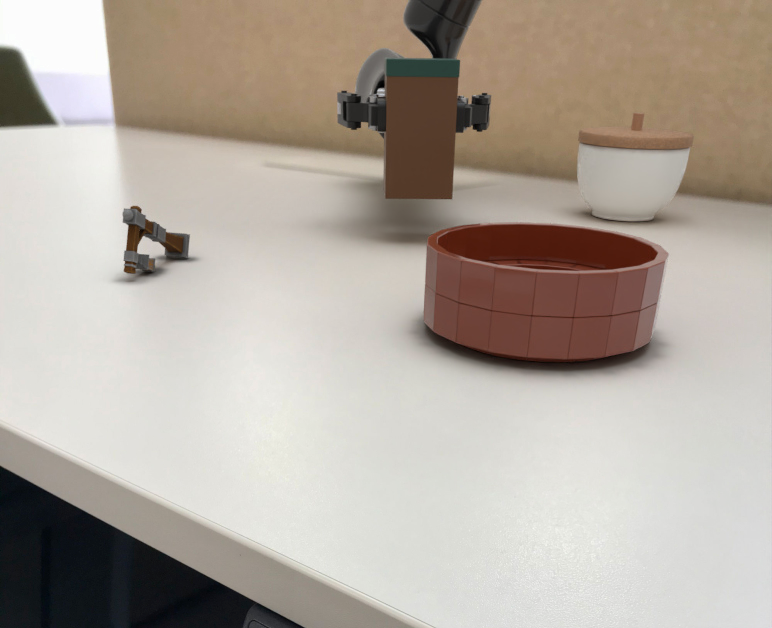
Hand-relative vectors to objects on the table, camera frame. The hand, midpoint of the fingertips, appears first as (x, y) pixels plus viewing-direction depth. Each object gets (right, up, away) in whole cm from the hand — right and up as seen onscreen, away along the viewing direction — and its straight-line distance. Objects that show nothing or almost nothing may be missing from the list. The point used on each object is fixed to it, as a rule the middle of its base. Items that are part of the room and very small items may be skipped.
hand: (421, 117), depth 64 cm
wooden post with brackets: (-19, -13, -4) cm, 24 cm away
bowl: (+6, -20, -16) cm, 26 cm away
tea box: (0, -4, +5) cm, 7 cm away
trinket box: (+21, -1, +19) cm, 28 cm away
